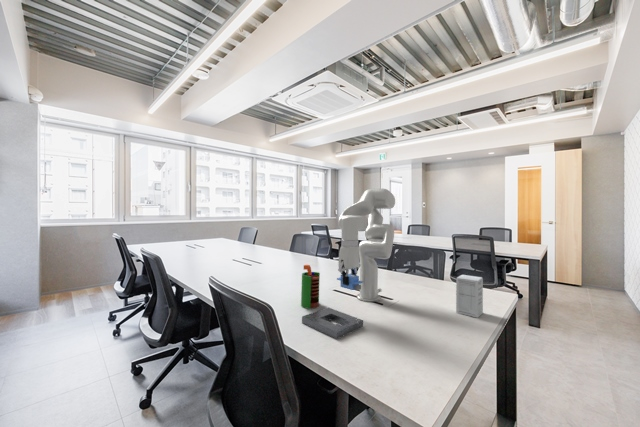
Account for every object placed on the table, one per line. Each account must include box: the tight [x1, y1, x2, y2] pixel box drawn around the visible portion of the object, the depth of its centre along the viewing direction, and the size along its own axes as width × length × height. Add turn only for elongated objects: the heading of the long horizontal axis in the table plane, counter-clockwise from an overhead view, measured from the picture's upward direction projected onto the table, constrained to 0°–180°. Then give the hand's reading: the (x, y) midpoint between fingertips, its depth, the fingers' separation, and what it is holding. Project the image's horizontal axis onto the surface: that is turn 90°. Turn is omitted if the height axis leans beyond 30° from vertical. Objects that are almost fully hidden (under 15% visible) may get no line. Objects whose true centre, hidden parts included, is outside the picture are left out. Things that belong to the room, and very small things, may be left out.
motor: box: [300, 264, 321, 309], centre depth 138 cm, size 10×9×20 cm
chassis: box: [301, 307, 364, 340], centre depth 115 cm, size 16×20×3 cm
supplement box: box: [455, 274, 484, 318], centre depth 130 cm, size 10×9×17 cm
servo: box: [336, 273, 363, 291], centre depth 125 cm, size 4×12×6 cm, turn 44°
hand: (349, 283), depth 125 cm, fingers closed on servo, 4 cm apart
